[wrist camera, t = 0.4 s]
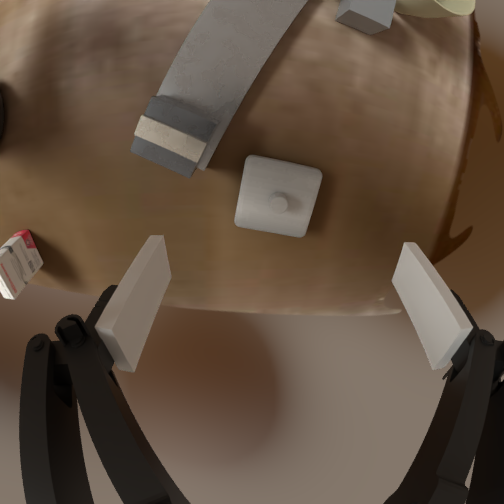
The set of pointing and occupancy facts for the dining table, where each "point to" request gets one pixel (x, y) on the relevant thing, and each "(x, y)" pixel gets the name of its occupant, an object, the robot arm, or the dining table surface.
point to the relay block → (366, 14)
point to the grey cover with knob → (277, 196)
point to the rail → (210, 81)
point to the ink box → (18, 263)
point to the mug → (435, 8)
